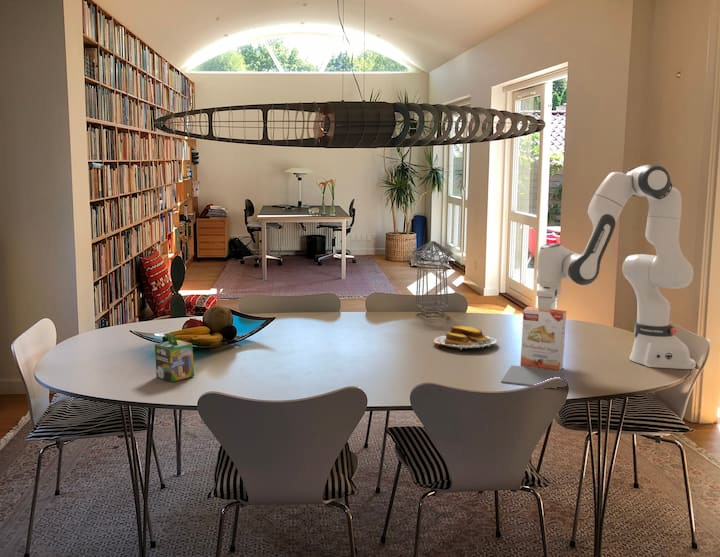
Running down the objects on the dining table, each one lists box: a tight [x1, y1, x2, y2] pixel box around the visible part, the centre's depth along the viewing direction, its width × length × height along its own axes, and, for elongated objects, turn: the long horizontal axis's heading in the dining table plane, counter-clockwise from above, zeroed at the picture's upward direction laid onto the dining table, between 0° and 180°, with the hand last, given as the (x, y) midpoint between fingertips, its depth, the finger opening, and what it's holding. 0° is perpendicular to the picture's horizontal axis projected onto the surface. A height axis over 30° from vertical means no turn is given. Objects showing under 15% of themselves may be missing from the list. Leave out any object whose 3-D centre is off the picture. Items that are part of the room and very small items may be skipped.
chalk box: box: [154, 333, 195, 383], centre depth 241 cm, size 9×9×15 cm
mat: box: [501, 364, 565, 387], centre depth 245 cm, size 18×20×1 cm
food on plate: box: [432, 325, 499, 350], centre depth 287 cm, size 26×25×7 cm
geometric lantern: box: [411, 240, 454, 318], centre depth 340 cm, size 16×16×35 cm
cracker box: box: [520, 306, 567, 371], centre depth 256 cm, size 14×6×21 cm, turn 62°
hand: (546, 325), depth 264 cm, fingers closed
